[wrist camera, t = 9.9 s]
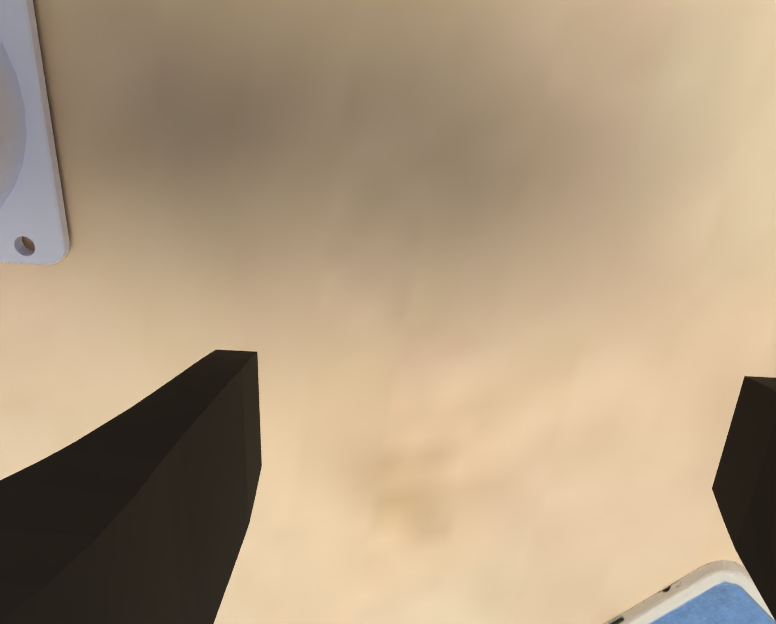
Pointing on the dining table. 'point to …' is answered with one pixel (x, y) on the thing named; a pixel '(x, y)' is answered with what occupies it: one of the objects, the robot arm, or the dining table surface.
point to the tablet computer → (704, 600)
